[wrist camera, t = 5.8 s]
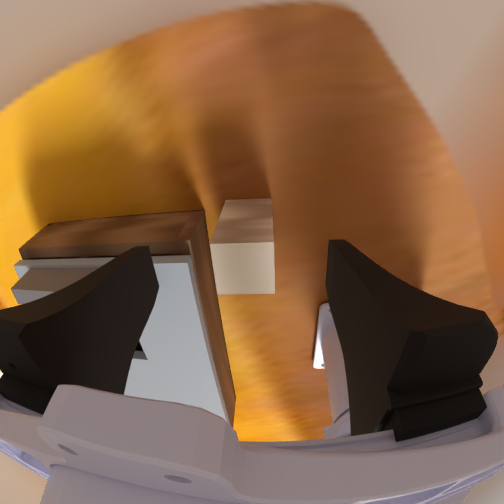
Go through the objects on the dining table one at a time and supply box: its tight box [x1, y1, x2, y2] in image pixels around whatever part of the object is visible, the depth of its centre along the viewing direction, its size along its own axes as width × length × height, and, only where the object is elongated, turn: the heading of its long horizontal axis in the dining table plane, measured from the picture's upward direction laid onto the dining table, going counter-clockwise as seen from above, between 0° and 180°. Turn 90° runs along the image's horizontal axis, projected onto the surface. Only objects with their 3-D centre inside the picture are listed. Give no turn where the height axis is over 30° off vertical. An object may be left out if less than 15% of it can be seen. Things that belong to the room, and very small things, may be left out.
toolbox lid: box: [11, 255, 231, 426], centre depth 21 cm, size 14×22×3 cm, turn 4°
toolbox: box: [19, 210, 236, 428], centre depth 24 cm, size 14×22×4 cm, turn 4°
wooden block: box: [210, 198, 275, 294], centre depth 17 cm, size 3×3×6 cm
